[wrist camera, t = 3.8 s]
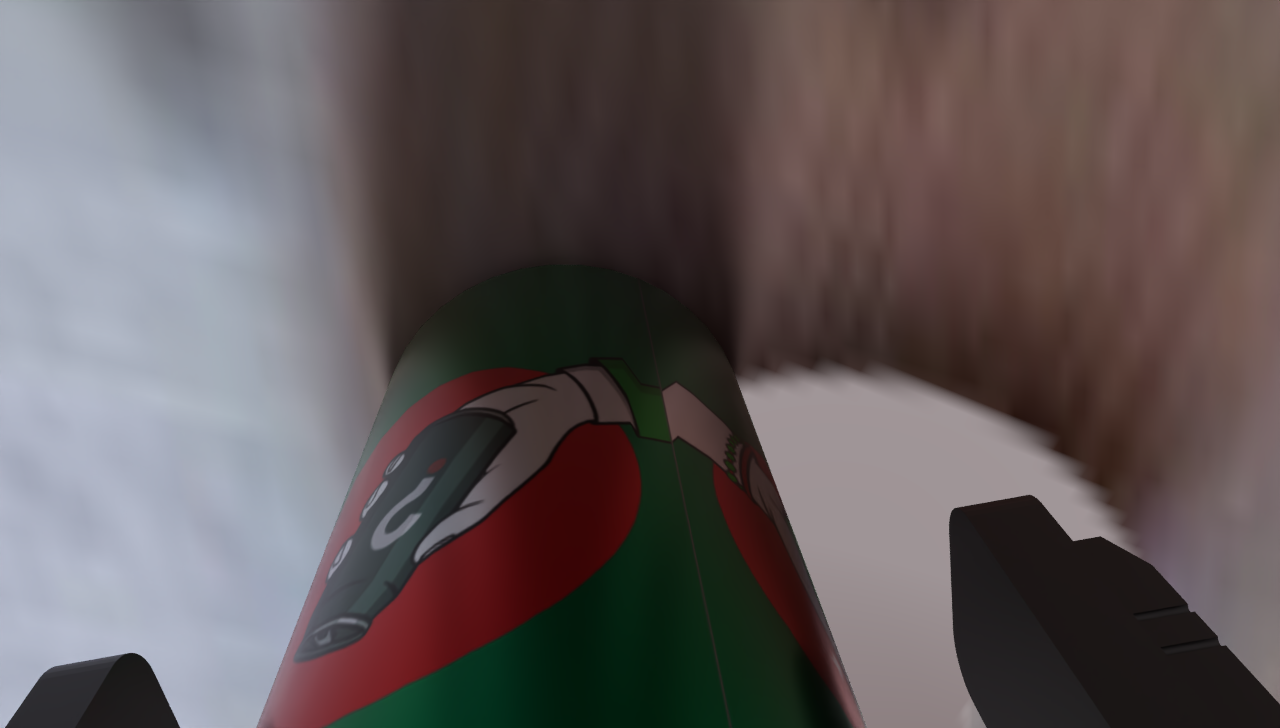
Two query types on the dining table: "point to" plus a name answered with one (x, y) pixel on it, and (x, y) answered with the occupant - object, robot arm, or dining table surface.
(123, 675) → the robot arm
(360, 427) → the dining table surface
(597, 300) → the soda can
